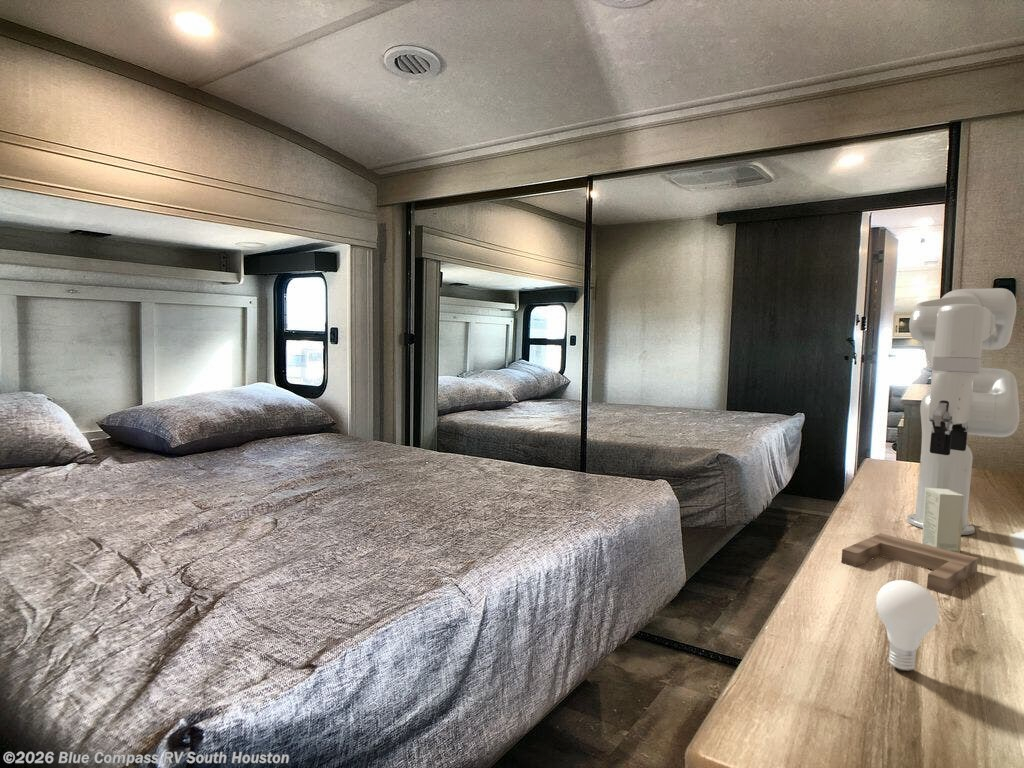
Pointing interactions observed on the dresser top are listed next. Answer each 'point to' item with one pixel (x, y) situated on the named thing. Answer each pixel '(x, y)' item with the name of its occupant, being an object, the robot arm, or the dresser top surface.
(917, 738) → the dresser top surface
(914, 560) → the notched board
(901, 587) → the lightbulb
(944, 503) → the skincare box
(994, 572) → the dresser top surface
